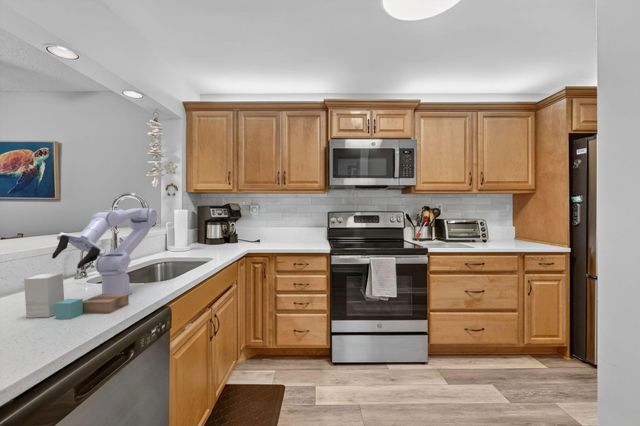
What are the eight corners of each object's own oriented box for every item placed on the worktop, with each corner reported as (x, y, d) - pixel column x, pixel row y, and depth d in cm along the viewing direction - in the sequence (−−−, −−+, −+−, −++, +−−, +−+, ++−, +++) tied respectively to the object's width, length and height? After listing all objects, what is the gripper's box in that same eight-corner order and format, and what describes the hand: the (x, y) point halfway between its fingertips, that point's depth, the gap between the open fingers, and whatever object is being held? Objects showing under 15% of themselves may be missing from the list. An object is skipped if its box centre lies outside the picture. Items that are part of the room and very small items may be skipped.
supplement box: (65, 310, 117) (63, 273, 116) (49, 317, 109) (47, 277, 109) (43, 311, 117) (41, 273, 116) (25, 318, 109) (23, 278, 109)
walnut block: (101, 305, 123) (101, 294, 123) (128, 305, 122) (128, 294, 122) (80, 314, 113) (79, 302, 113) (109, 314, 112) (108, 302, 112)
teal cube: (68, 314, 113) (68, 298, 113) (83, 314, 112) (82, 298, 112) (55, 319, 108) (54, 303, 108) (70, 319, 107) (69, 303, 107)
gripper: (71, 218, 118) (43, 243, 107) (114, 236, 122) (92, 263, 111) (67, 231, 121) (40, 258, 110) (110, 249, 125) (87, 276, 114)
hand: (66, 261), depth 111 cm, fingers open, 7 cm apart
